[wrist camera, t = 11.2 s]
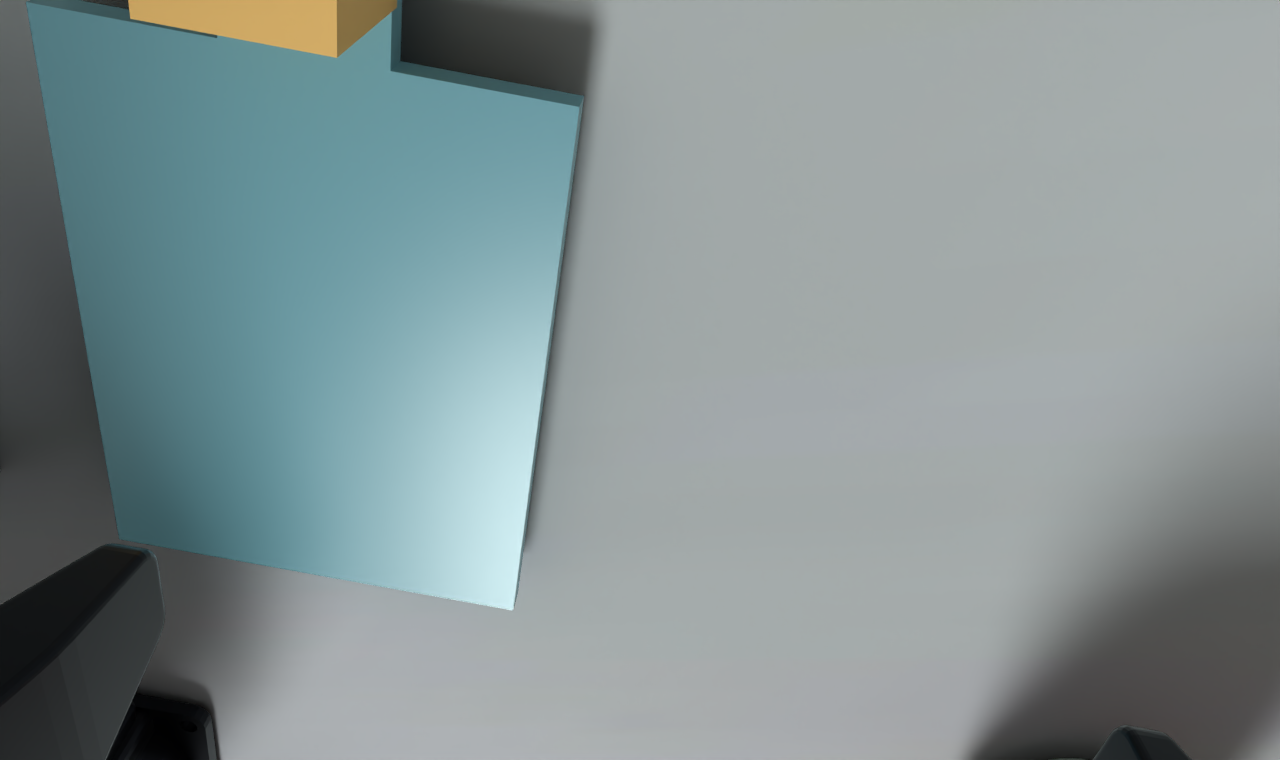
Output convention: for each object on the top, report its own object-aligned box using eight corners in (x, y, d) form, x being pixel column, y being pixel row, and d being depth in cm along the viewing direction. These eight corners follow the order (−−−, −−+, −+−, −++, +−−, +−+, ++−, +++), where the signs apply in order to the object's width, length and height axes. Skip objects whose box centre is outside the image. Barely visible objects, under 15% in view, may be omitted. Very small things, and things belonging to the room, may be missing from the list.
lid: (523, 569, 26) (489, 701, 22) (147, 501, 25) (55, 623, 22) (613, -94, 17) (580, -45, 13) (43, -204, 17) (-136, -183, 13)
